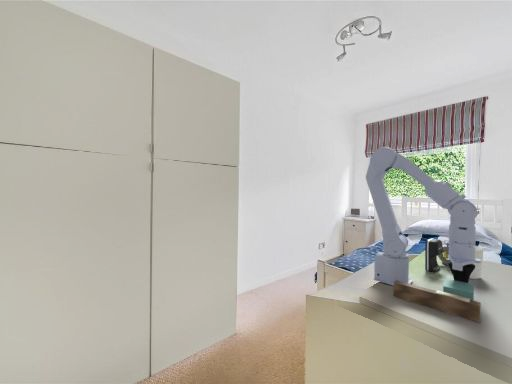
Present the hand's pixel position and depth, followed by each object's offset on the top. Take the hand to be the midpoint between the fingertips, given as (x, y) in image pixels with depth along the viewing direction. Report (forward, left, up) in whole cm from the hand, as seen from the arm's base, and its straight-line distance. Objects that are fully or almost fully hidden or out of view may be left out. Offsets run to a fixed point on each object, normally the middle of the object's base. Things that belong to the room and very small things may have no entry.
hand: (461, 288), depth 67 cm
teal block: (0, -5, -2) cm, 5 cm away
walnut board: (-4, -13, -2) cm, 14 cm away
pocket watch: (-7, +30, -2) cm, 31 cm away
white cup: (-1, +21, -2) cm, 21 cm away
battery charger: (-10, +19, -2) cm, 21 cm away
